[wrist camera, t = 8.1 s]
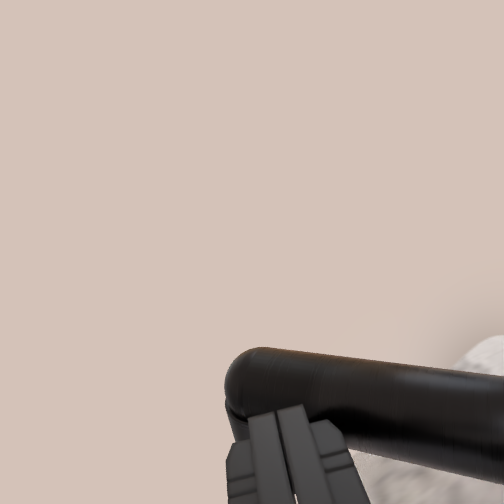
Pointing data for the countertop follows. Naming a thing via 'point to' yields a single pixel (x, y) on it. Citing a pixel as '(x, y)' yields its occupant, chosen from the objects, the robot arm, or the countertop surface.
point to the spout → (378, 407)
